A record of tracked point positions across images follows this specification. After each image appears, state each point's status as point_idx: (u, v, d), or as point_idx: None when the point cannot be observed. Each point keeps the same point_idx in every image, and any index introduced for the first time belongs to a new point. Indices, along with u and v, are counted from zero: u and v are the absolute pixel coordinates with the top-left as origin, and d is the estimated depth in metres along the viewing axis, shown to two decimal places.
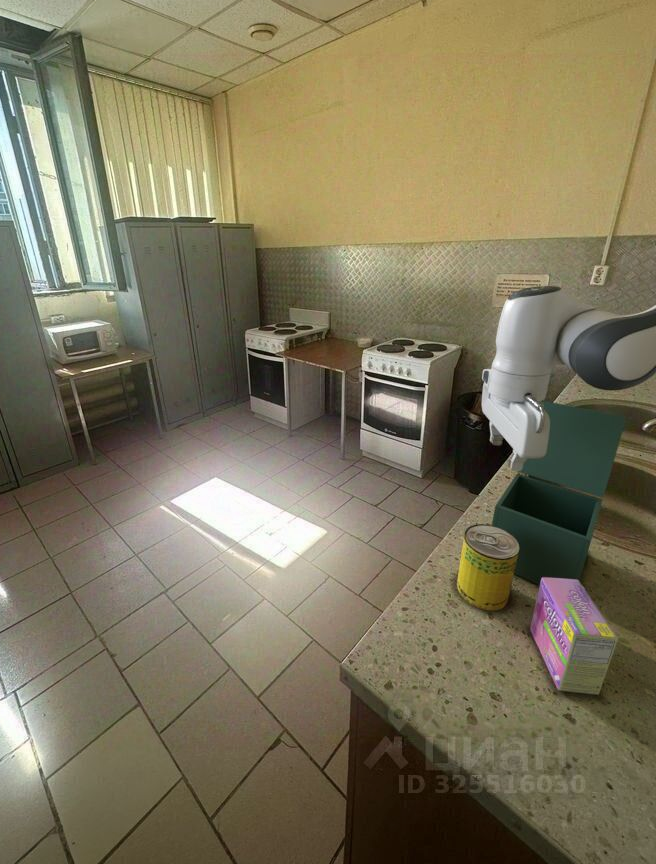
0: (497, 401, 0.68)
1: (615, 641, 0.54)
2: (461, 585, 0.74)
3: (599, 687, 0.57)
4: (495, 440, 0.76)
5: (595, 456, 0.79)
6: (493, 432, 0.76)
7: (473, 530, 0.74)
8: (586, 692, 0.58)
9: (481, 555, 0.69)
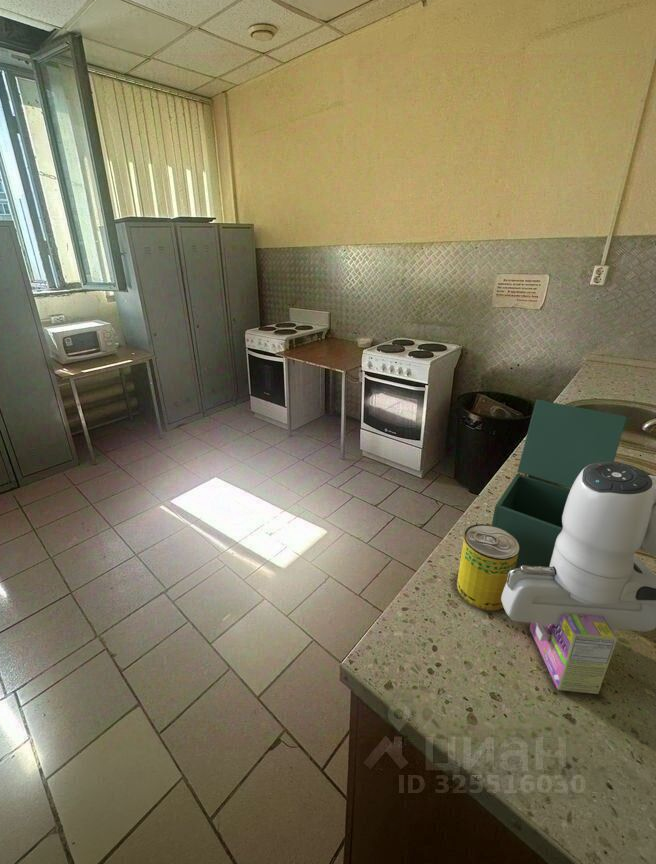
0: None
1: (614, 640, 0.54)
2: (461, 585, 0.74)
3: (598, 686, 0.57)
4: None
5: (595, 456, 0.79)
6: None
7: (473, 530, 0.74)
8: (585, 691, 0.58)
9: (481, 555, 0.69)
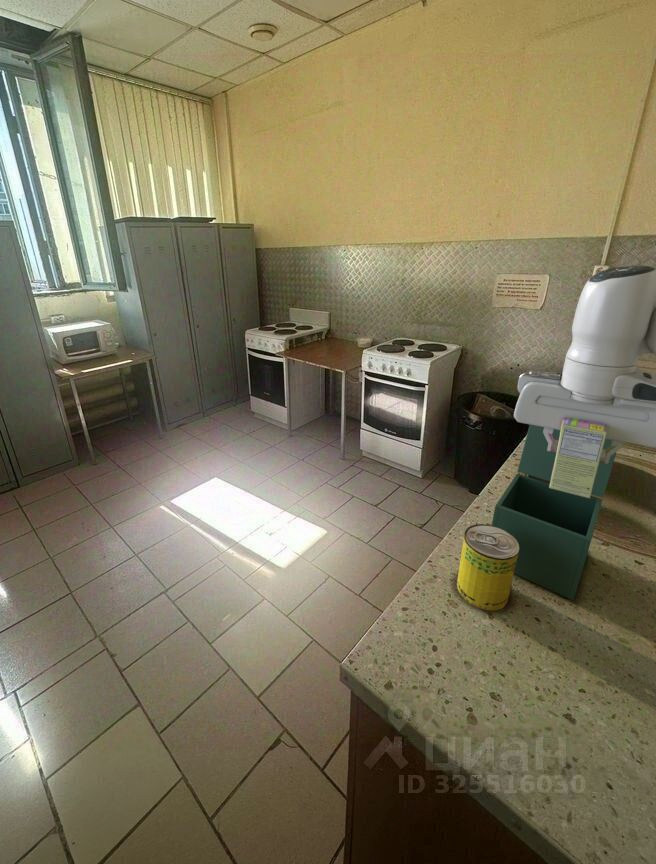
0: None
1: (603, 435, 0.58)
2: (461, 585, 0.74)
3: (589, 489, 0.61)
4: None
5: None
6: (607, 448, 0.63)
7: (473, 530, 0.74)
8: (577, 493, 0.63)
9: (481, 555, 0.69)
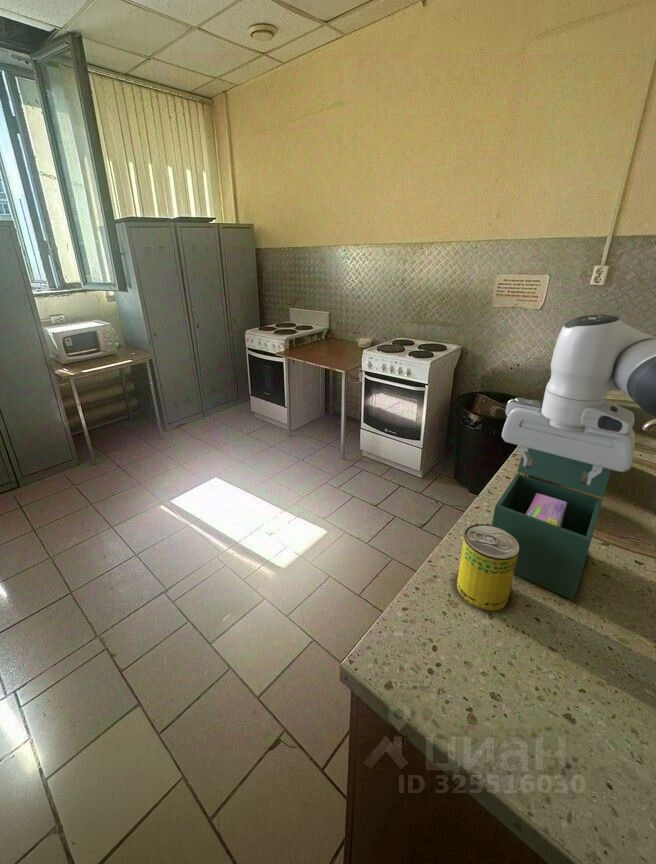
0: None
1: None
2: (461, 585, 0.74)
3: None
4: None
5: None
6: None
7: (473, 530, 0.74)
8: None
9: (481, 555, 0.69)
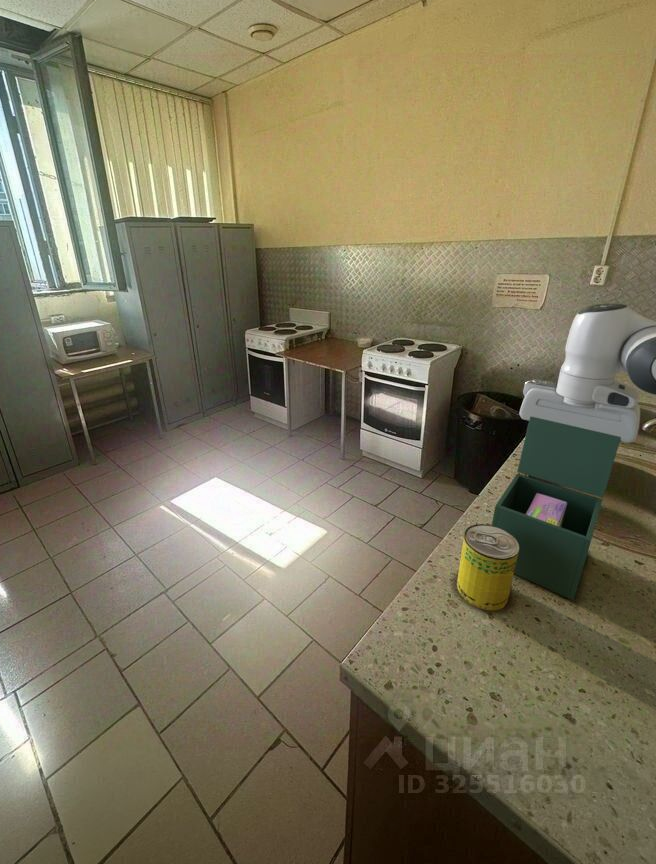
0: None
1: None
2: (461, 585, 0.74)
3: None
4: None
5: (595, 457, 0.78)
6: None
7: (473, 530, 0.74)
8: None
9: (481, 555, 0.69)
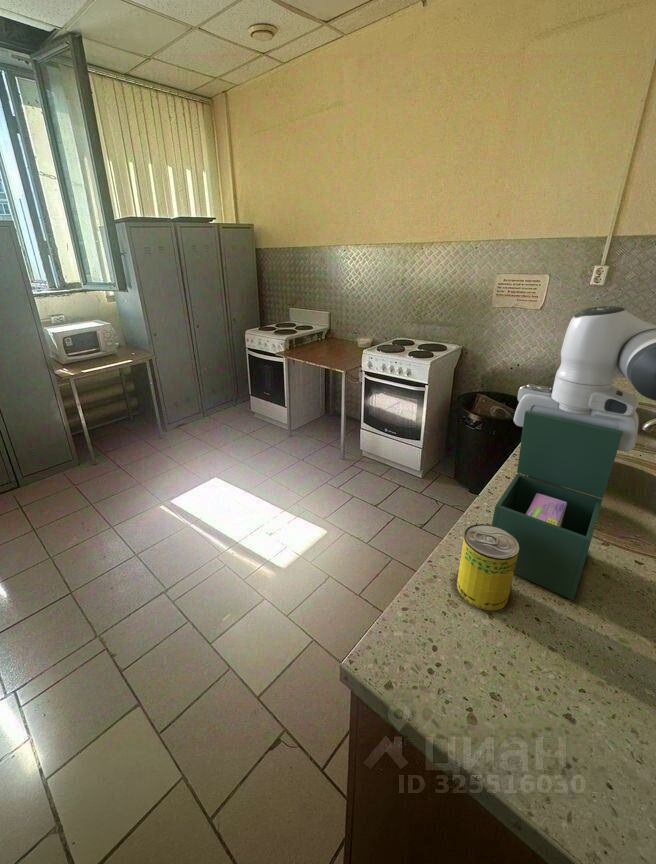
0: None
1: None
2: (461, 585, 0.74)
3: None
4: None
5: (592, 465, 0.76)
6: None
7: (473, 530, 0.74)
8: None
9: (481, 555, 0.69)
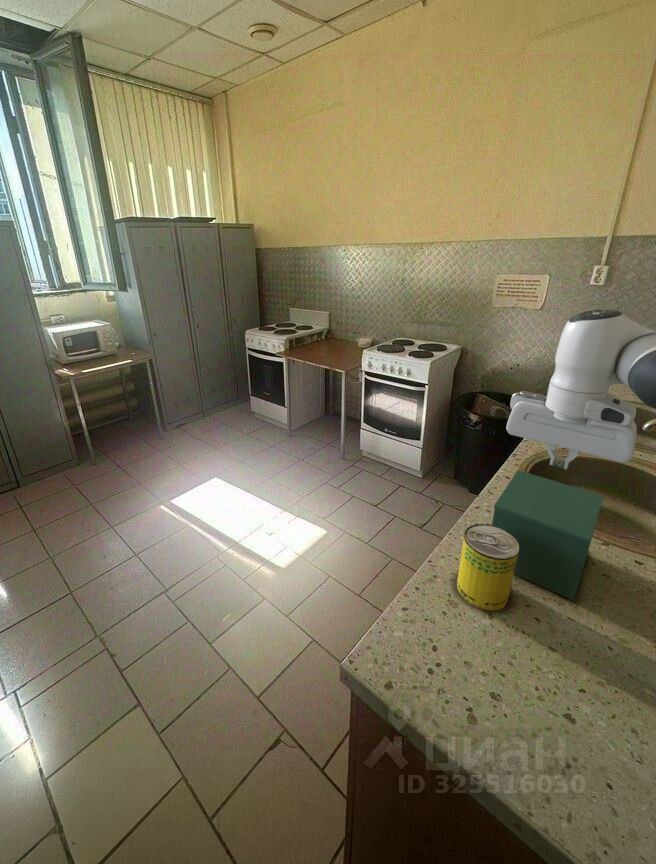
0: None
1: None
2: (461, 585, 0.74)
3: None
4: None
5: None
6: (568, 456, 0.76)
7: (473, 530, 0.74)
8: None
9: (481, 555, 0.69)
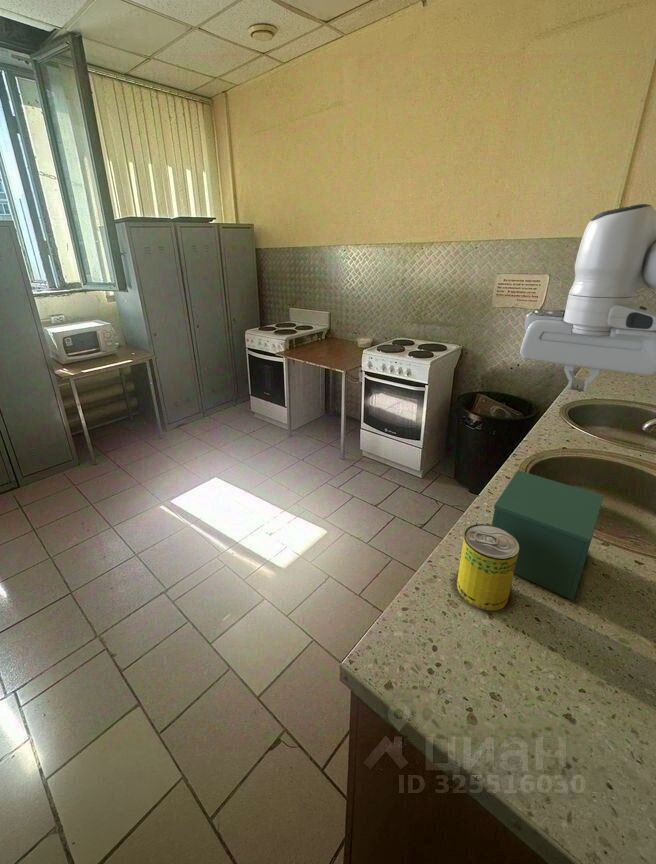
0: None
1: None
2: (461, 585, 0.74)
3: None
4: None
5: None
6: (587, 378, 0.70)
7: (473, 530, 0.74)
8: None
9: (481, 555, 0.69)
